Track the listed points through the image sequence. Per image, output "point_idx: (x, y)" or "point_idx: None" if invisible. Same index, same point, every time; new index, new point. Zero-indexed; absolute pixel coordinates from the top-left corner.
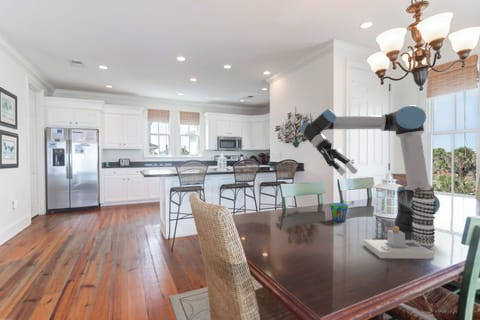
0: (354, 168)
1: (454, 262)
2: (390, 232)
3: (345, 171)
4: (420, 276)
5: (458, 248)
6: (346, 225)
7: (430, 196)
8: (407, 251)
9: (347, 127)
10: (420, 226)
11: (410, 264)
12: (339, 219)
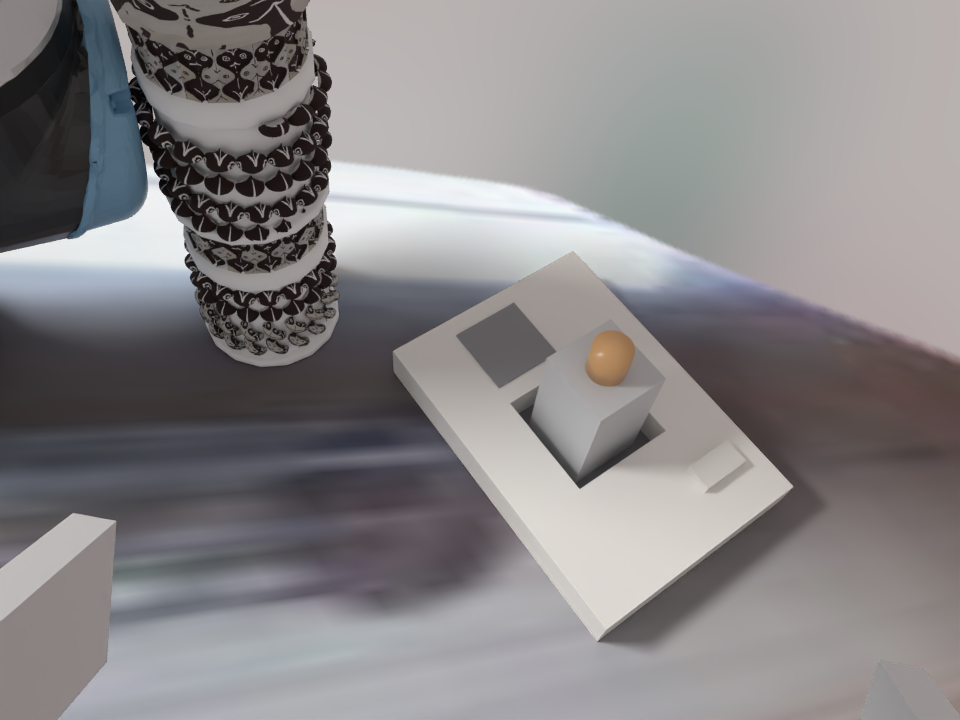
0: (60, 589)
1: (557, 207)
2: (633, 402)
3: (904, 670)
4: (866, 327)
5: None
6: None
7: None
8: (663, 358)
9: None
10: (325, 242)
11: (745, 364)
12: None
